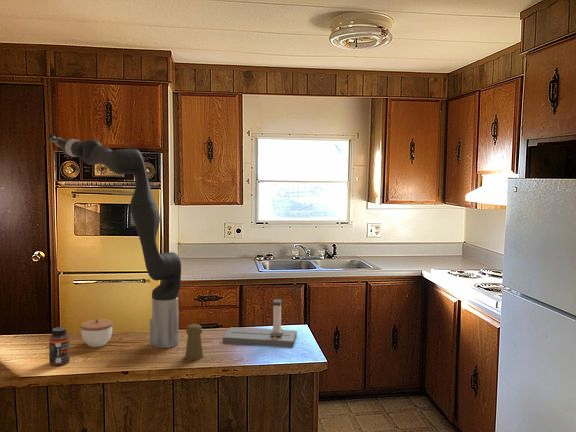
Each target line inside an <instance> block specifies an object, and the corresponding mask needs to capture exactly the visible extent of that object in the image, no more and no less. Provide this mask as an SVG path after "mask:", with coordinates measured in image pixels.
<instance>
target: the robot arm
mask: <svg viewBox="0 0 576 432" xmlns="http://www.w3.org/2000/svg"><path fill="white" fill-rule="evenodd" d="M47 140H48V141H49V142H53V143H54V145H56V146H58V147H59V148H60V149H61V151H62V153H63V154H64V155H67V156H70V157H73V158H75V157H76V158H80V159H82V161H83V163H85V164H86V165H89V166H95V165H99V164H101V165H104V166H105V167H106V168H108V169H109V170H110V171H111V172H113V173H114V174H117V175H129V174H133V177H134V180H135V187H134V192H133V193H132V197H131V199H130V204H129V210H130V213H131V216H132V219H133V222H134V225H135V228H136V231H137V234H138V238H139V241H140V245H141V250H142V254H143V260H144V264H145V268H146V272H147V274H148V276H149V278H150V279H152V280H153V281H161V282H160V283H159V285H157V286H156V287H155V288H154V289H152V292H151V319H149V347H150V346H151V347H154V348H157V349H168V348H174V347H175V346H178V345H179V338H180V337H179V334H180V333H179V328H180V327H179V293H180V290H181V280H182V263H181V259H180V256H179V255H178V254H177V253H176V252H170V251H169V252H164V253H163V252H162V253H160V251H159V249H158V244H157V235H158V231H159V227H160V222H161V216H160V212H159V209H158V206H157V203H156V201H155V198H154V195H153V192H152V188H151V186H150V182H149V177H148V175H147V174H148V173H147V168H146V165H145V161H144V158H143V155H142V153H141V151H139V149H137V148H124V149H121V148H120V149H115V150H113V149H111V148H109V147H107V146H103V145H102V144H101V142H100V141H99V140H97V139H86V140H83V141H81V140H79V139H76V138H71V137H69V138H64V139H63V138H61V137H59V135H57V134H53V133H50V134H49V135H48V137H47Z"/></svg>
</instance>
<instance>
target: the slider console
mask: <svg viewBox="0 0 576 432" xmlns="http://www.w3.org/2000/svg"><path fill="white" fill-rule="evenodd" d="M272 329H273V328H272ZM272 329H269V328H254V327H250V328H249V327H232V326H230V328H229V329H228V330H227V331H226V332H225V334H224V335H223V337H222V343H225V344H237V345H238V344H242V345H258V346H272V347H273V346H274V347H275V346H276V347H290V348H291V347H292V348H293V347H294V346H295V343H296V340H297V336H298V335H297V332H298V331H297V330H288V329H286V330H285V329H283V334H282V336H271V331H272Z"/></svg>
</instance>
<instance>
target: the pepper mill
mask: <svg viewBox="0 0 576 432" xmlns="http://www.w3.org/2000/svg"><path fill="white" fill-rule="evenodd" d="M202 328H203V327H202V325H200V324H198V323H193V324H189V325H187V326H186V331H185V332H186V335H187V339H186V341H187V342H186V348H185V349H186V350H185V355H184V356H185V357H184V358H185V359H186V360H188V361H200V360H201V359H202V358H204V352H203V350H204V349H203V344H202V343H203V342H202V338H201V337H202V336H201V334H202V332H203V329H202Z"/></svg>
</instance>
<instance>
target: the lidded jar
mask: <svg viewBox="0 0 576 432" xmlns="http://www.w3.org/2000/svg"><path fill="white" fill-rule="evenodd" d="M113 323H114V322H113V320H110V319H108V318H95V319H89V320H86V321H83V322H82V323H81V324H80V333H81V335H80V336H81V337H82V340H83V342H84V343H85V344H86V345H87V346H88V347H89V348H99V347H104V346H106V344H107V343H108V342H109V341H110V340H111V337H112V335H113V325H114V324H113Z"/></svg>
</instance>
